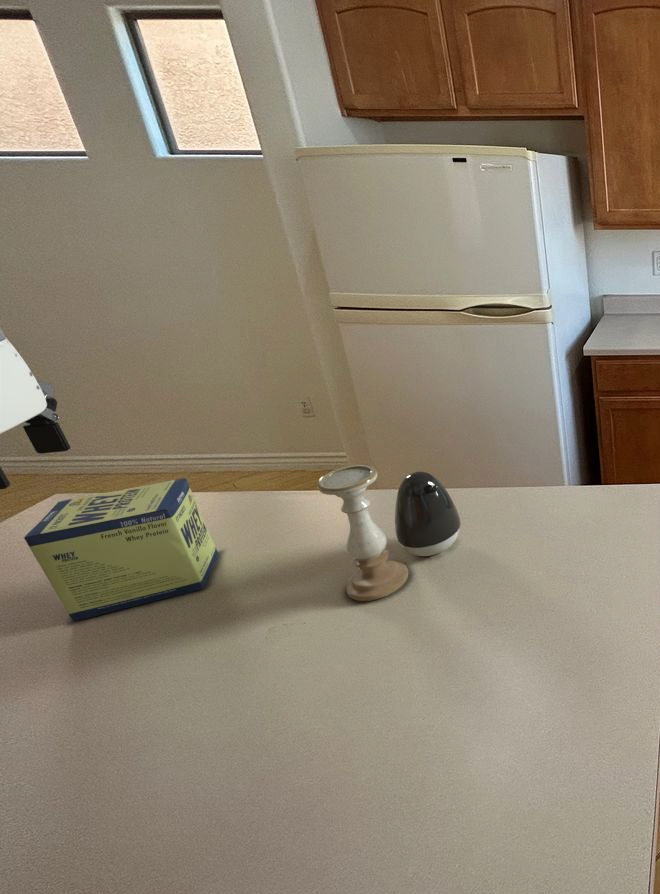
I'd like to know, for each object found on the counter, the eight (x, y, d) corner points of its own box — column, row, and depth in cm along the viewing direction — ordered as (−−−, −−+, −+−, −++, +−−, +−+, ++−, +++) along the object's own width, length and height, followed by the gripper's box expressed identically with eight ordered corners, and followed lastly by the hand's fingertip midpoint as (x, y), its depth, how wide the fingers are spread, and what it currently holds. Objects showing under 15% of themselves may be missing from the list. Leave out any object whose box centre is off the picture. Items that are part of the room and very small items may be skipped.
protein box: (206, 588, 89) (169, 507, 83) (71, 623, 82) (18, 537, 76) (221, 552, 97) (188, 476, 91) (99, 581, 90) (54, 501, 84)
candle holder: (338, 605, 86) (300, 494, 78) (360, 568, 94) (327, 464, 86) (399, 598, 88) (368, 489, 79) (415, 562, 95) (389, 460, 87)
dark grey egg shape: (424, 572, 93) (404, 496, 87) (389, 551, 98) (368, 478, 92) (476, 541, 101) (462, 469, 95) (442, 523, 106) (426, 453, 100)
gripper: (-27, 319, 68) (40, 442, 75) (-184, 363, 53) (-83, 512, 60) (52, 316, 70) (109, 436, 77) (-79, 357, 55) (7, 501, 62)
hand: (25, 469), depth 69 cm, fingers open, 9 cm apart
